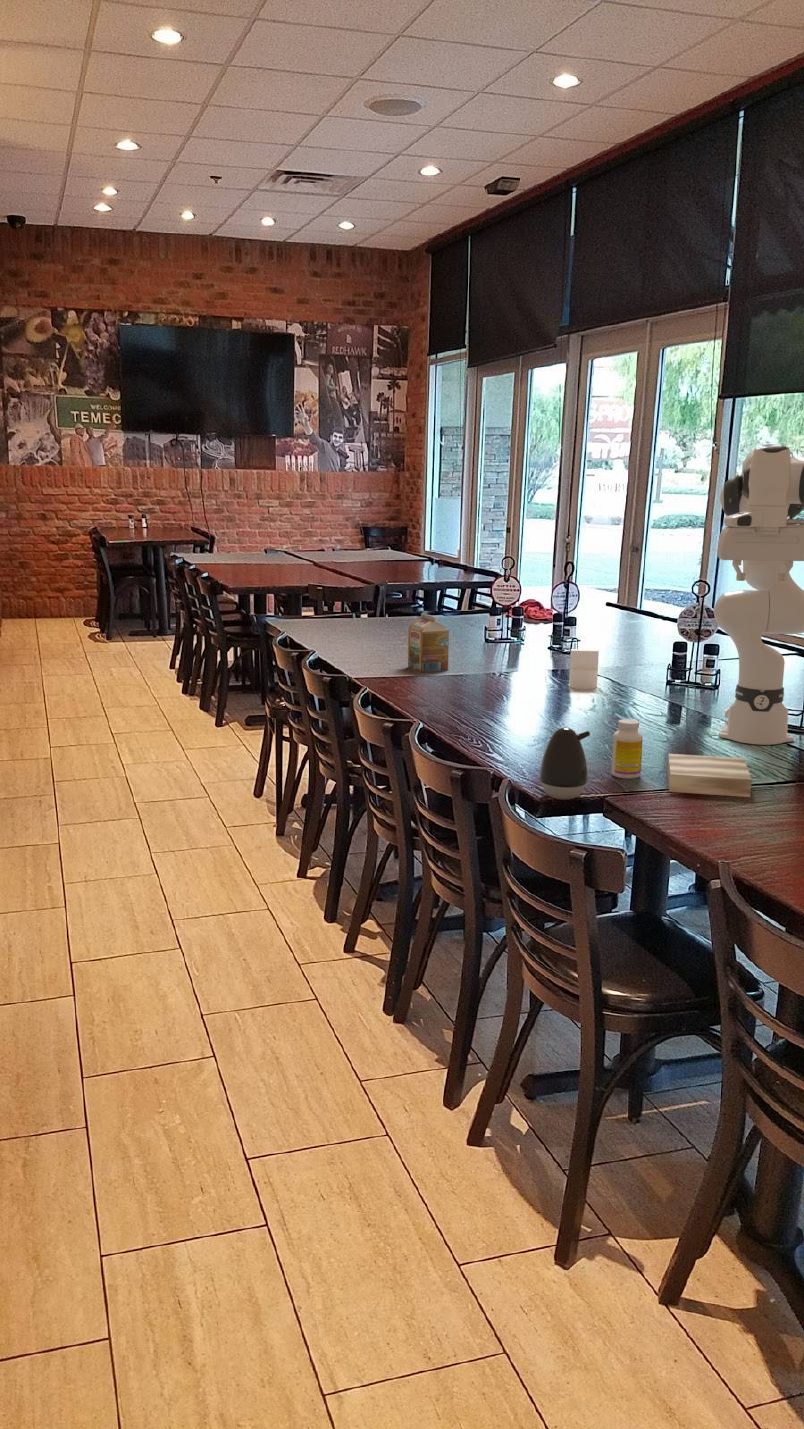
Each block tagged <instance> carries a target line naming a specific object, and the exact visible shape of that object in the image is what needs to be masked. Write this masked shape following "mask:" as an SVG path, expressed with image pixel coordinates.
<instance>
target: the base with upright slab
mask: <svg viewBox="0 0 804 1429" xmlns="http://www.w3.org/2000/svg"><path fill="white" fill-rule="evenodd" d="M599 652H600V650H599V649H587V648H585V649H584V648H583V649H582V648H580V649H579V648H576V649H575V648H570V655H569V656H570V659H569V676H568V677H569V678H568V686H569V688H572V689H577V690H594V689H598V676H599V675H598V672H599V655H600V654H599Z"/></svg>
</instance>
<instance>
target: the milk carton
mask: <svg viewBox="0 0 804 1429" xmlns="http://www.w3.org/2000/svg"><path fill="white" fill-rule="evenodd" d="M407 633H408V636H407V637H408V639H407V640H408V642H407V645H408V646H407V648H408V649H407V652H408V653H407V654H408V655H407V656H408V657H407V658H408V659H407V668H410V669H411V670H414V671H416V672H420V673H427V672H439V671H440V672H441V671H448V670H449V654H450V653H449V652H450V651H449V649H450V648H449V644H450V643H449V642H450V641H449V640H450V638H449V637H450V636H449V635H450V634H449V633H450V630H449V629H448V628H447V627H446V626H445V625H443V623H441V622H439V621H437V616H435V615H431V614H427V613H421V617H420V618H418V619H416V620H415V621H414V622H412V624H410V626H408V632H407Z"/></svg>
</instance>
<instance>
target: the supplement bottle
mask: <svg viewBox="0 0 804 1429" xmlns="http://www.w3.org/2000/svg"><path fill="white" fill-rule="evenodd" d="M617 726H618V730H616V731H615V732H614V733H613V736H612V753H611V754H612V756H611V774H612V776H614V777H615V778H618V779H624V780H625V779H626V780H627V779H631V780H633V779H638V778H639V777H640V776H641V773H642V772H641V771H642V759H643V758H642V756H643V742H644V740H643V738H644V737H643V734H642V733H641V732H639V731H638V730H639V728H640V721H638V720H637V719H629V718H628V719H627V718H626V719H625V718H622V719H619V720H618V723H617Z"/></svg>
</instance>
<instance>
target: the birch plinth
mask: <svg viewBox="0 0 804 1429" xmlns="http://www.w3.org/2000/svg"><path fill="white" fill-rule="evenodd" d="M667 758H668V759H667V768H666V769H667V780H668V790H669V792H670V793H680V794H681V793H685V794H698V795H699V794H700V795H713V796H715V795H716V796H729V797H743V798H744V797H745V798H751V790H752V780H753V779H752V777H751V774H750V771H749V768H748V765H747V762H746V760H745V758H744V757H729V756H713V755H711V756H710V755H697V754H695V755H694V754H681V753H680V754H679V753H668V754H667Z"/></svg>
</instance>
